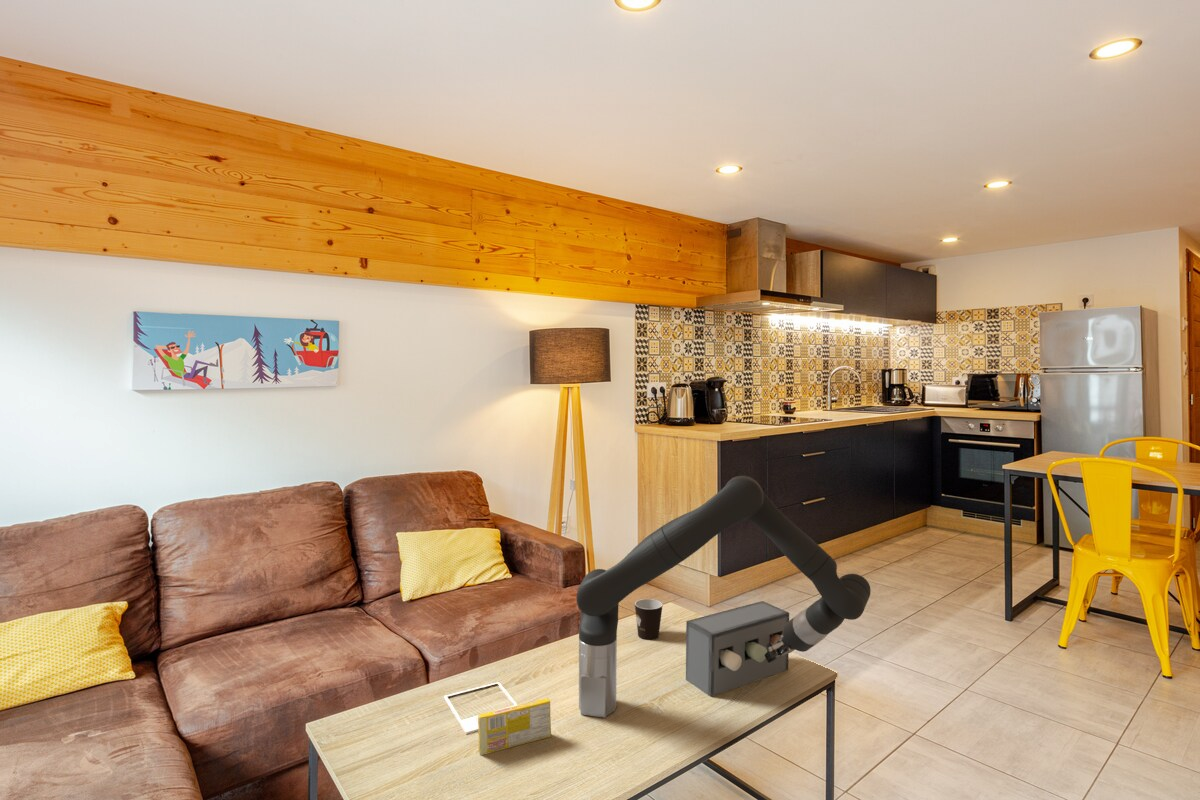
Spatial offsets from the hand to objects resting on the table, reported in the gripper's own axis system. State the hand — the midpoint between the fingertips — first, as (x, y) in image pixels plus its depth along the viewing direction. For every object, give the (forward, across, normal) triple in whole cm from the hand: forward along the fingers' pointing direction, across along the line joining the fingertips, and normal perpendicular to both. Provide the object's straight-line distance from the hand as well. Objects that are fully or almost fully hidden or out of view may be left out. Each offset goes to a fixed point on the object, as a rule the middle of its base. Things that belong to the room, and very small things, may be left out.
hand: (768, 658), depth 160 cm
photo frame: (+28, +65, -15) cm, 73 cm away
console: (+14, 0, -1) cm, 14 cm away
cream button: (+6, +9, -3) cm, 11 cm away
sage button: (+6, 0, -3) cm, 6 cm away
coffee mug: (+38, +6, -25) cm, 46 cm away
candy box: (+16, +64, -2) cm, 66 cm away
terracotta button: (+6, -9, -3) cm, 11 cm away
